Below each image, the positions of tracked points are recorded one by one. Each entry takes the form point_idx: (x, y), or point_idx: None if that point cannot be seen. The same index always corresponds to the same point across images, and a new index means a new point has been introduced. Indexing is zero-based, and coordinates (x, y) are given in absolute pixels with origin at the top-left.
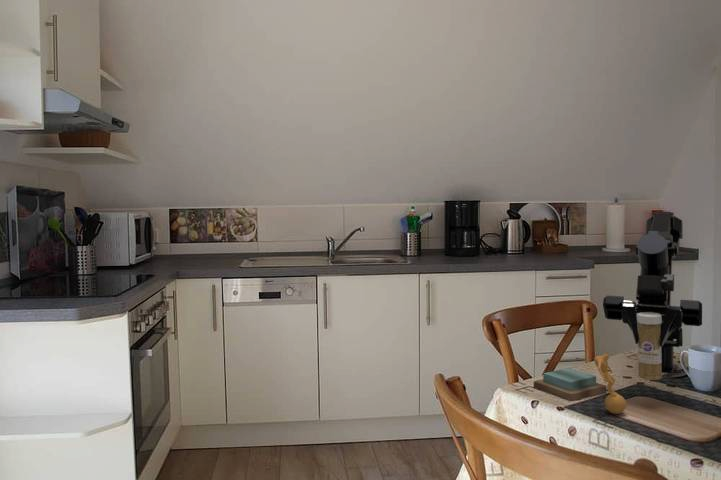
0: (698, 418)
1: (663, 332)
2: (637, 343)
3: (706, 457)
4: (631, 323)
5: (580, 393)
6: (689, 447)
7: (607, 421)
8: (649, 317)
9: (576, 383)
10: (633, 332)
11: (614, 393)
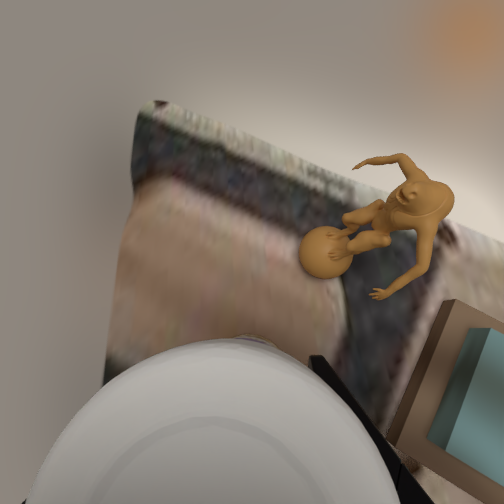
0: (143, 315)
1: None
2: (308, 367)
3: (147, 116)
4: (421, 495)
5: (439, 333)
6: (170, 143)
7: (324, 200)
8: (198, 346)
9: (474, 351)
10: (356, 403)
11: (334, 248)
